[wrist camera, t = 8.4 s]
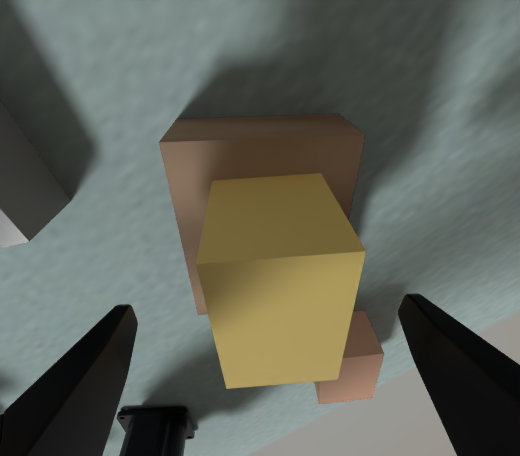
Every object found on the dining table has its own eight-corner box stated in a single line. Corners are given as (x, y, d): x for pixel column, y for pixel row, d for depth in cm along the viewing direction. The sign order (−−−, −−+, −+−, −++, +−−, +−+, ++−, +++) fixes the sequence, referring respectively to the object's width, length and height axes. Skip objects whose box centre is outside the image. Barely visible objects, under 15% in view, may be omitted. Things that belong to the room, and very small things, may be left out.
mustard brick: (311, 286, 14) (337, 379, 10) (230, 292, 14) (226, 388, 10) (320, 173, 10) (366, 251, 6) (212, 180, 10) (195, 264, 6)
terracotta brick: (356, 353, 23) (372, 398, 21) (309, 359, 24) (319, 404, 21) (363, 308, 20) (384, 353, 17) (308, 314, 20) (320, 360, 17)
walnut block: (316, 262, 18) (331, 307, 15) (205, 268, 17) (198, 314, 14) (336, 111, 12) (365, 135, 9) (178, 116, 12) (158, 142, 9)
